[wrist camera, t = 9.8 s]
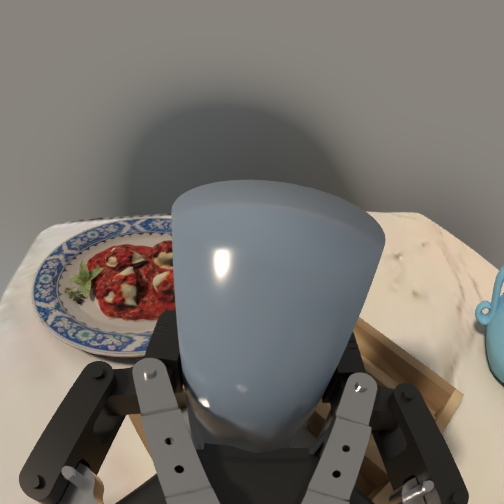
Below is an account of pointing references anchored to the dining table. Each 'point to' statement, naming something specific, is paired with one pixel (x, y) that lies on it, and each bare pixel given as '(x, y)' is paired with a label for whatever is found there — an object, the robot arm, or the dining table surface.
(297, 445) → the wooden compartment tray
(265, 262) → the pale blue cylinder
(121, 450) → the dining table surface
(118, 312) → the ceramic plate
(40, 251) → the dining table surface
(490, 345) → the decorative pot
